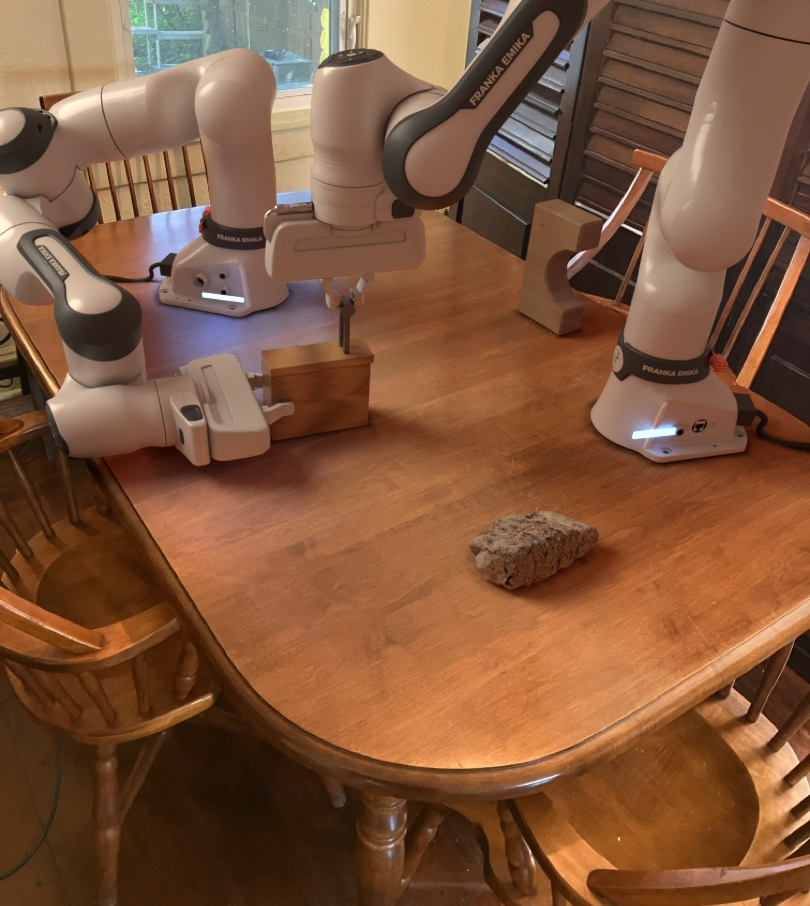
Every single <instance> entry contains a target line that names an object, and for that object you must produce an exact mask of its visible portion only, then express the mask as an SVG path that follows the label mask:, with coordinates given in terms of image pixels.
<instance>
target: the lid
mask: <svg viewBox="0 0 810 906" xmlns="http://www.w3.org/2000/svg"><path fill="white" fill-rule="evenodd" d="M340 295H341V301H340V303H341V306H340V307H336V309H337V310H338V311H339V314H338V317H339V318H338V340H332V341H325V342H318V343H317V342H316V343H309V344H303V345H293V346H287V347H286V346H285V347H279V348H270V349H263V350H260V351H261V352H260V354H261V355H260V356H261V357H260V358H261V362H262V361H263V363H264V365H265V367H266V369H267V371H268V373H269V375H270V377H278V376H285V375H292V374H299V373H306V372H313V371H320V370H327V369H334V368H341V367H348V366H355V365H362V364H369V363H371V364H374V362H375V354H374V353H373V351H372V350H371V348H370V347H369V346H368V344H367V342H366V341H365V339H364V338H363V337H356V338H351V318H352V317H353V316H354V315H355V314H356V309H357V308H356V305H353V304H352V302H351V301H350V297H348V296H347V295H346V294H340Z"/></svg>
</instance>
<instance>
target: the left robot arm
mask: <svg viewBox="0 0 810 906" xmlns="http://www.w3.org/2000/svg"><path fill="white" fill-rule="evenodd" d="M277 86H278V85H277V79H276V77H275V73H274V71H273V68H272V66H271V64H270V63H269V62H268V61H267V59H266V58H265V57H264V56H263V55H262V54H260V53H258V52H257V51H255V50H253V49H250V48H246V47H234V48H231V49H227V50H222V51H219V52H216V53H212V54H209V55H206V56H202V57H199V58H196V59H193V60H190V61H187V62H183V63H180V64H176V65H174V66H171V67H169V68H165V69H163V70H160V71H156V72H153V73H149V74H145V75H140V76H137V77H131V78H128V79H123V80H119V81H114V82H110V83H107V84H103V85H98V86H94V87H92V88H88V89H85V90H82V91H80V92H77V93H75V94H72V95H69V96H68V97H66V98H63V99H60V101H57V102H56V103H54V104H53V105H52V106H51V107H50V108H49V109H48V110H46V109H43V108H40V107H25V106H14V107H13V106H12V107H5V108H0V187H1V188H2V190H3V192H4V193H3V194H0V284H1V286H2V287H3V288H4V289H5V291H7V293H8V294H10V295H11V296H12V297H13V298H14V299H15V300H17V301H18V302H19V303H21V304H23V305H28V306H33V307H45V306H51V305H53V318H54V321H55V324H56V327H57V330H58V333H59V336H60V339H61V343H62V346H63V350H64V351H63V352H64V355H65V360H66V364H67V369H68V371H66V374H65V378H64V381H63V383H62V385H61V386H60V388H59V390H58V392H57V393H56V394H55V395H54V396H53V397H51V398H49V399H48V400H46V402H45V406H44V411H45V416H46V420H47V423H48V426H49V428H50V431H51V435H52V438H53V441H54V442H55V445H56V447H57V448H58V450H59V451H60V452H61V453H63V455H65V456H67V457H70V458H76V459H94V458H105V457H112V456H120V455H127V454H131V453H134V452H136V451H139V450H141V449H143V448H149V447H154V448H155V447H156V448H167V447H173V446H174V447H175V448H176V450H178V451H179V452H180V453H182V454H183V455H184V456H185V457H186V459H187V460H188V461H189V462H190V463H191V464H192V465H194V466H196V467H201V466H206V465H209V464H210V463H211V458H212V459H213V460H216V461H221V462H226V461H234V460H240V459H241V460H242V459H247V458H252V457H256V456H260V455H263V454H264V453H266V452H267V451H268V450H270V448H271V435H270V430H269V426H268V425H269V424H272V423H274V422H275V421H277V420H278V419H280V418H281V417H282V416H288V415H292V414H294V404H293V402H292V400H291V399H289V398H287V399H281V400H279V403H278V404H276V405H274V406H272V407H270V408H268V406H264V405H261V406H260V403H259V402H258V399H257V397H256V395H255V392H254V391H255V390H256V389H263V382H262V373H260V372H254V371H250V372H245V370H244V367H243V365H242V363H241V360H240V359H239V356H238V355H237V354H236V353H235V354H234V353H230V352H224V353H218V354H213V355H208V356H205V357H200V358H196V359H194V360H191V361H189V362H188V363H187V364H186V365H181V366H179V368H177V369H176V371H174V372H173V374H172V376H168V377H159V378H154V379H153V378H152V379H148V374H147V365H146V354H145V346H144V339H143V309H142V305H141V303H140V301H139V300H138V299H137V297H136V296H135V295H134V294H132V292H130V291H129V290H128V289H126V288H124V287H123V286H121V285H119V284H117V283H116V282H121V283H148V282H151V281H152V280H153V279H154V277H155V272H154V270H155V269H156V268H159V273H160V274H159V275H160V276H161V277H164V279H163V280H162V281H161V283H160V286H159V289H158V297H159V300H160V301H161V303H162V304H165V305H169V306H175V307H180V308H186V309H192V310H197V311H202V312H208V313H213V314H219V315H225V316H230V317H236V318H240V317H241V318H242V317H245V316H247V315H250V314H252V313H253V312H257V311H262V310H267V309H270V308H273V307H276V306H278V305H280V304H282V303H283V302H285V300H287V298H288V297H289V293H290V291H289V288H288V285H287V283H276V282H275V281H274V280H273V279H272V278H271V277H270V276H269V274H268V273H267V271H266V268H265V248H266V238H265V237H264V234H263V218H264V215H265V214H266V213H267V212H268V211H269V210H271V209H273V208H274V206H275V205H278V196H277V194H278V192H277V168H276V165H275V157H274V147H273V145H274V144H273V135H272V112H273V107H274V104H275V101H276V97H277V91H278V88H277ZM197 140H200V143H201V149H202V152H203V156H204V160H205V167H206V174H207V183H208V185H207V186H208V195H209V196H208V197H209V206H207V207H205V209H204V210H203V212H202V214H201V218H200V219H199V224H198V234H200V235H199V236H198V237H196V238H195V239H193V240H191V241H190V242H189V243H187V244H186V245H184V246H183V247H182V248H181V249H180V250H179V251H178V253H175V252H169V253H168V254H167V255H166V256H165V257H164V258H163V259H162V260H160V261H157V262H154V263H152V264H150V266H149V267H148V275H147V277H144V278H140V279H133V278H127V277H122V276H119V275H118V276H117V275H109V274H102V273H100V272H99V271H98V270H97V269H96V268H95V267H94V266H93V264H92V263H91V262H90V261H89V260H88V259H87V258H86V257H85V256H84V255H83V254H82V253H81V252H80V251H79V249H78V248H77V247H76V246H75V245H74V244H73V243H72V242H73V241H77V240H80V239H81V238H83V237H85V236H87V235H88V234H89V233H90V232H92V231H93V229H94V228H95V227H96V225H97V223H98V221H100V217H101V213H102V210H101V209H102V208H101V205H100V202H99V199H98V196H97V194H96V192H95V189H93V187H92V186H91V185H90V184H89V183H88V181H87V179H86V177H85V175H84V174H83V171H84V170H85V169H87V168H89V167H90V166H91V165H94V164H106V163H107V164H108V163H114V162H121V161H126V160H131V159H136V158H140V157H144V156H149V155H153V154H158V153H162V152H163V153H164V152H167V151H171V150H176V149H179V148H181V147H183V146H185V145H187V144H190V143H192V142H194V141H197ZM274 213H275V212H273V213H271V214H274ZM114 281H115V282H114Z"/></svg>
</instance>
